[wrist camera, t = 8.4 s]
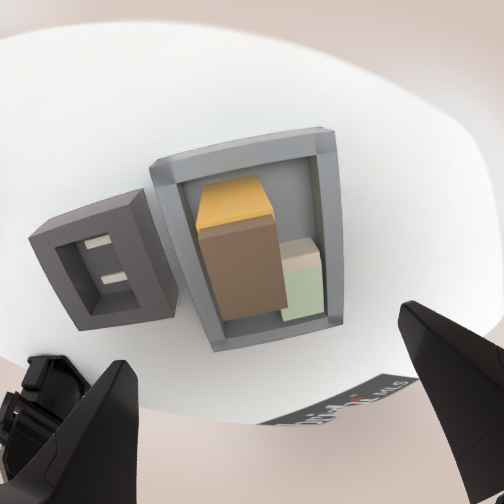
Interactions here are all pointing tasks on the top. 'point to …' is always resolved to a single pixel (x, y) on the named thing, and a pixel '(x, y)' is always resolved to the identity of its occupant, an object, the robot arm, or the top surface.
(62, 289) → the fuse holder
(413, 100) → the top surface
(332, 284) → the parts tray
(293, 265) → the block
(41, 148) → the top surface
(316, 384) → the top surface
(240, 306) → the block
